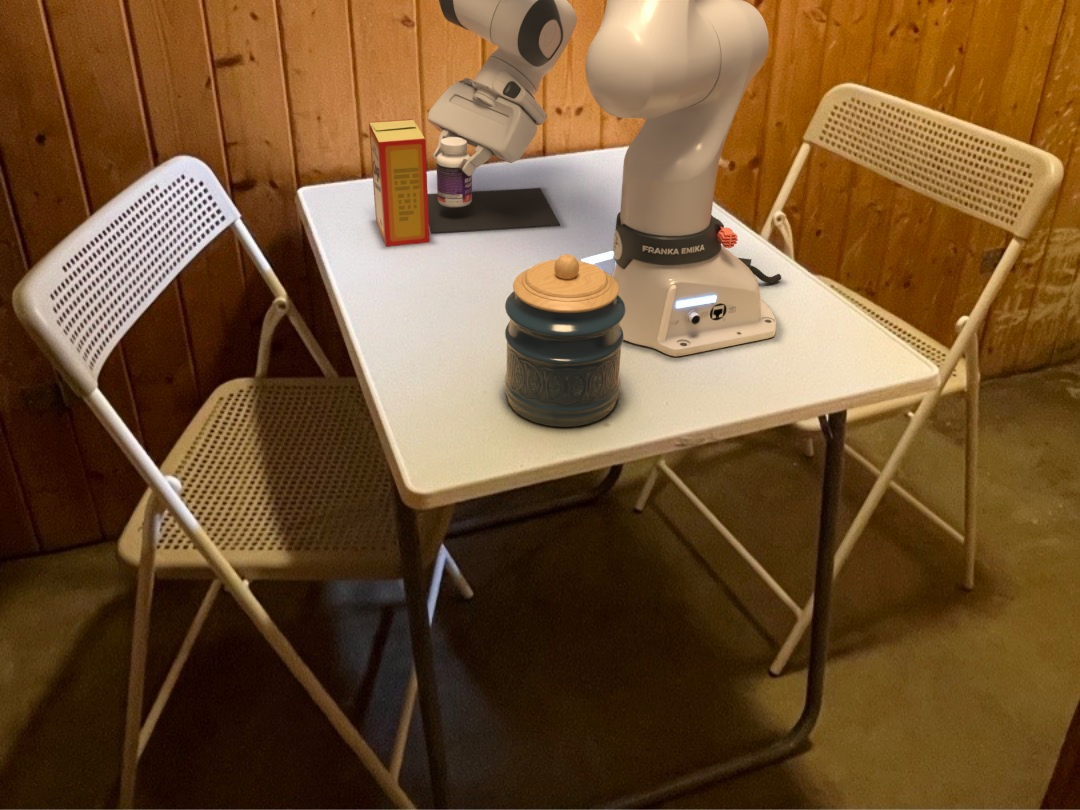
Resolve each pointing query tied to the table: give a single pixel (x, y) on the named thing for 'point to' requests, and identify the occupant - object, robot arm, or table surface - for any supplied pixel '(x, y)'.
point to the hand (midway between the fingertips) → (450, 166)
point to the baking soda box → (400, 181)
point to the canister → (564, 343)
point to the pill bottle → (453, 174)
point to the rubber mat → (493, 212)
